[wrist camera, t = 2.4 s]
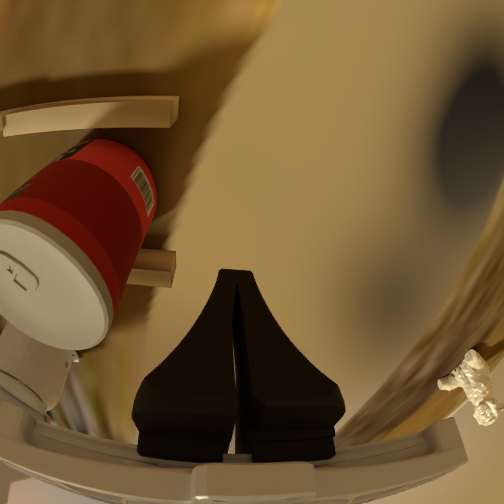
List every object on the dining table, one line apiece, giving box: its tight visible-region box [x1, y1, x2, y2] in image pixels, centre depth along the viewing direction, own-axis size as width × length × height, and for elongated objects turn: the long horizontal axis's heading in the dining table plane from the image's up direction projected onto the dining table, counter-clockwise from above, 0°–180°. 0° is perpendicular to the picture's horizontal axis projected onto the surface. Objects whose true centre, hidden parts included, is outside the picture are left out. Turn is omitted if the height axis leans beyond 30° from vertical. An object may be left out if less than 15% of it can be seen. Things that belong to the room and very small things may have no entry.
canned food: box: [0, 139, 157, 350], centre depth 15 cm, size 8×8×11 cm
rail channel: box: [2, 96, 179, 288], centre depth 19 cm, size 13×12×2 cm
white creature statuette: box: [438, 349, 504, 426], centre depth 34 cm, size 10×9×12 cm
